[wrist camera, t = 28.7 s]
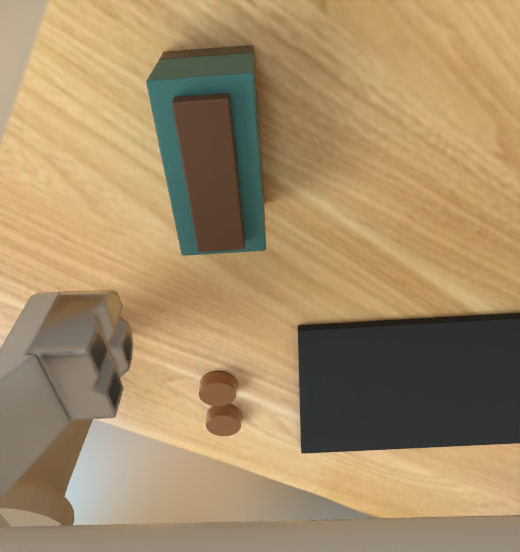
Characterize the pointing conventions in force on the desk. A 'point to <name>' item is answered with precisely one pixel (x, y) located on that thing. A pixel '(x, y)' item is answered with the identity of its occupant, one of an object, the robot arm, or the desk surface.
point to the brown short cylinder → (217, 388)
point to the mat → (410, 383)
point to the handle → (47, 483)
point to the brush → (211, 147)
